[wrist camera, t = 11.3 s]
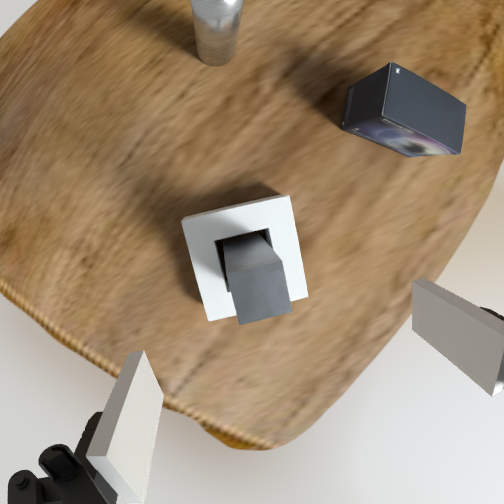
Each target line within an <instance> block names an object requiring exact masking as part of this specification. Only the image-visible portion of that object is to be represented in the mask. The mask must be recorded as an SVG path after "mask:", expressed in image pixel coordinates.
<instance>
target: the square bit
mask: <svg viewBox="0 0 504 504" xmlns="http://www.w3.org/2000/svg"><path fill="white" fill-rule="evenodd" d="M223 247H224V257H225V266H226V275H227V279H228V283H229V287H230V291H231V295H232V298H233V302H234V306H235V310H236V314H237V318H238V321H239V325H242V324H246V323H250V322H254V321H258V320H262V319H266V318H270V317H274V316H278V315H282V314H286V313H289V312H292V308H291V303H290V298H289V293H288V287H287V282H286V277H285V272H284V267H283V262H282V260H281V259H280V258H279V256H278V255H277V254H276V253H275V252H274V250H273V249H272V248H271V247H270V246H269V245H268V243H267V242H266V241H265V240H264V239H263V237H262V236H261V235H260V234H259V233H258V232H253V233H249V234H245V235H241V236H236V237H232V238H228V239H224V240H223Z"/></svg>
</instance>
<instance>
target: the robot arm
mask: <svg viewBox="0 0 504 504" xmlns="http://www.w3.org/2000/svg"><path fill="white" fill-rule="evenodd" d="M412 330H413V331H414V332H416V333H417V334H418V335H419V336H421V337H422V338H423V339H424V340H426V341H427V342H428V343H429V344H430V345H432V346H433V347H434V348H435V349H436V350H438V351H439V352H440V353H441V354H443V355H444V356H445V357H446V358H447V359H448V360H450V361H451V362H452V363H453V364H454V365H456V366H457V367H458V368H459V369H460V370H461V371H463V372H464V373H465V374H466V375H467V376H469V377H470V378H471V379H472V380H473V381H474V382H476V383H477V384H478V385H479V386H480V387H481V388H483V389H484V390H485V391H486V392H487V393H488V394H489V395H491V396H494V395H495V394H497V393H498V392H500V391H501V390H502V389H504V317H503V316H502V315H498V313H496V312H494V311H492V310H491V309H487V308H483V307H477V306H476V305H474V304H472V303H470V302H468V301H466V300H464V299H463V298H461V297H459V296H457V295H455V294H454V293H452V292H450V291H448V290H446V289H444V288H442V287H440V286H438V285H437V284H435V283H433V282H431V281H429V280H427V279H425V278H421V279H418V280H415V281H413V282H412ZM163 398H164V396H163V393H162V391H161V389H160V387H159V385H158V382H157V380H156V378H155V376H154V373H153V371H152V369H151V366H150V364H149V362H148V359H147V357H146V354H145V352H144V351H138V352H132V353H129V355H128V357H127V359H126V361H125V363H124V365H123V368H122V370H121V372H120V374H119V377H118V379H117V381H116V383H115V386H114V388H113V390H112V393H111V395H110V397H109V399H108V402H107V404H106V407H105V409H104V411H103V412H96V413H95V414H94V415H93V416H92V417H91V418H90V419H89V420H88V423H87V425H86V427H85V431H84V432H83V434H82V438H81V439H80V441H79V443H78V445H77V448H76V450H75V452H74V454H73V452H72V451H71V450H70V449H69V447H68V446H66V445H63V444H56V445H53V446H50V447H48V448H47V449H45V450H44V451H43V452H42V454H41V455H40V458H39V466H40V467H41V468H42V469H43V470H44V472H45V473H46V474H47V475H48V476H49V477H45V478H39V479H38V478H37V477H36V476H35V475H34V474H33V473H32V472H31V471H29V470H21V471H19V472H16V473H15V474H14V475H13V476H12V477H11V478H10V480H9V483H8V504H116V501H117V496H119V497H120V498H121V499H122V500H123V501H124V502H125V503H129V504H131V503H132V504H145V498H146V491H147V485H148V479H149V473H150V467H151V461H152V456H153V450H154V444H155V439H156V434H157V428H158V423H159V418H160V413H161V408H162V403H163Z"/></svg>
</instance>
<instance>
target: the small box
mask: <svg viewBox="0 0 504 504" xmlns="http://www.w3.org/2000/svg"><path fill="white" fill-rule="evenodd" d="M465 115H466V105H465V104H464V103H462V102H461V101H459V100H458V99H456V98H455V97H453V96H452V95H450V94H449V93H447V92H445V91H444V90H442V89H441V88H439V87H437V86H436V85H434V84H432V83H431V82H429V81H427V80H425V79H424V78H422V77H420V76H418V75H416V74H415V73H413V72H411V71H409V70H407V69H405V68H403V67H401V66H399V65H397V64H396V63H394V62H390V63H388V64H387V65H386V66H384V67H382V68H380V69H379V70H377V71H375V72H373V73H372V74H370V75H369V76H367V77H365V78H364V79H362V80H360V81H359V82H357V83H355V84H353V85H351V86H349V89H348V95H347V100H346V105H345V109H344V114H343V116H342V124H341V130H343V131H346V132H349V133H351V134H354V135H357V136H359V137H362V138H365V139H367V140H370V141H372V142H375V143H377V144H379V145H382V146H384V147H387V148H389V149H391V150H394V151H396V152H398V153H401V154H403V155H405V156H407V157H418V156H432V155H456V154H460V153H461V148H462V141H463V133H464V125H465Z"/></svg>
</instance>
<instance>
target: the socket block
mask: <svg viewBox="0 0 504 504" xmlns="http://www.w3.org/2000/svg"><path fill="white" fill-rule="evenodd" d="M181 222H182V226H183V230H184V234H185V238H186V242H187V246H188V250H189V253H190V257H191V261H192V265H193V268H194V272H195V276H196V279H197V283H198V286H199V290H200V293H201V297H202V300H203V304H204V307H205V311H206V314H207V317H208V321H213V320H217V319H221V318H226V317H230V316H234V315H237V314H236V310H235V306H234V302H233V298H232V295H231V291H230V287H229V283H228V281H226V279H225V275H224V271H223V267H222V263H221V259H220V255H219V251H218V247H217V243H216V240H219V239H223V238H227V237H231V236H235V235H240V234H244V233H248V232H252V231H257V230H261V229H265V234H266V239H267V243H268V245H269V246H270V247H271V248H272V249H273V250H274V252H275V253H276V254H277V255H278V256H279V258H280V259H281V260H282V262H283V267H284V272H285V277H286V282H287V287H288V293H289V298H290V302H291V301H294V300H298V299H302V298H306V297H308V292H307V286H306V281H305V275H304V269H303V264H302V258H301V253H300V248H299V242H298V237H297V232H296V227H295V222H294V217H293V212H292V207H291V202H290V197H289V196H288V195H282V194H281V195H276V196H271V197H267V198H262V199H258V200H253V201H249V202H245V203H240V204H236V205H232V206H227V207H223V208H219V209H215V210H211V211H207V212H202V213H198V214H194V215H190V216H186V217H184V218H183V219H182V220H181Z"/></svg>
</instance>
